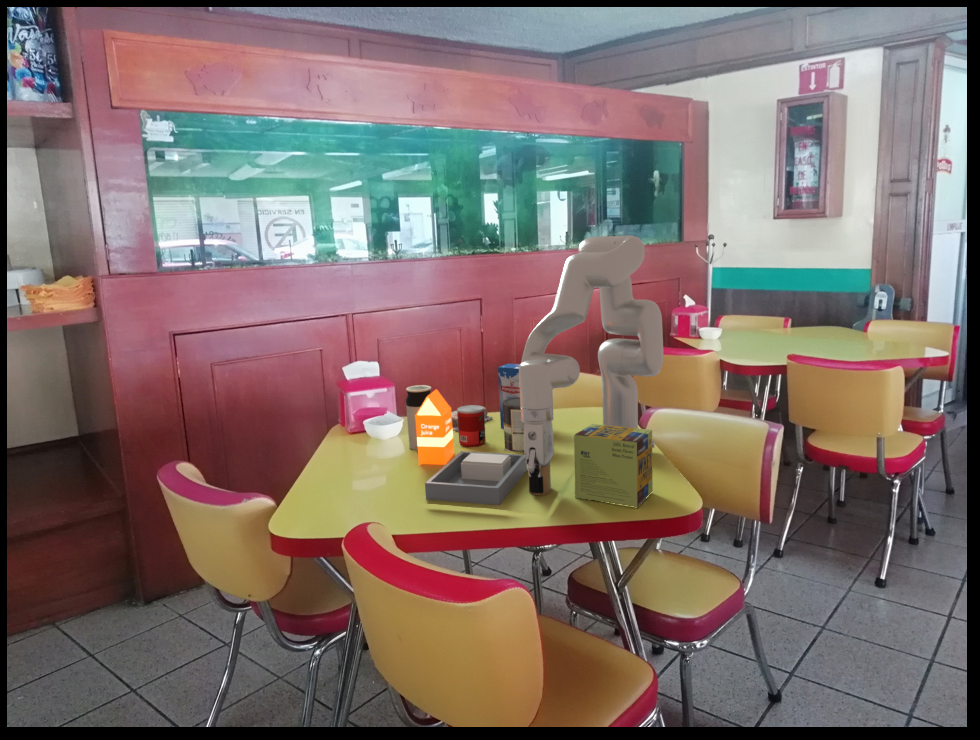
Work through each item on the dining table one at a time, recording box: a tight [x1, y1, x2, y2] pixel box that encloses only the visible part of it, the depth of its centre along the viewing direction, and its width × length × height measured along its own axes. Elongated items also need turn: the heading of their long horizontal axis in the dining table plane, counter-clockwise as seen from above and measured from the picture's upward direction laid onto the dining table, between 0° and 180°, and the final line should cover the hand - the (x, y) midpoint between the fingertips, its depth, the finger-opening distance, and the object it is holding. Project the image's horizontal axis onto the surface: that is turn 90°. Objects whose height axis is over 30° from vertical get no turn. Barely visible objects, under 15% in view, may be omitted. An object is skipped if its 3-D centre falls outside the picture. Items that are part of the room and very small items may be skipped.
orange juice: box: [415, 388, 455, 467], centre depth 189 cm, size 8×9×20 cm
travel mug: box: [405, 384, 432, 451], centre depth 204 cm, size 8×8×18 cm
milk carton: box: [497, 363, 521, 429], centre depth 219 cm, size 10×6×20 cm, turn 58°
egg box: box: [461, 453, 511, 481], centre depth 175 cm, size 11×7×5 cm, turn 72°
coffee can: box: [502, 397, 525, 453], centre depth 198 cm, size 10×10×14 cm
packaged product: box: [451, 406, 493, 433], centre depth 229 cm, size 18×5×10 cm
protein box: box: [573, 423, 654, 508], centre depth 159 cm, size 10×15×16 cm
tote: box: [424, 450, 528, 510], centre depth 169 cm, size 18×24×5 cm
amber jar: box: [527, 459, 552, 496], centre depth 162 cm, size 5×5×9 cm
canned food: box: [456, 404, 487, 448], centre depth 205 cm, size 8×8×11 cm
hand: (539, 487), depth 163 cm, fingers closed on amber jar, 5 cm apart
